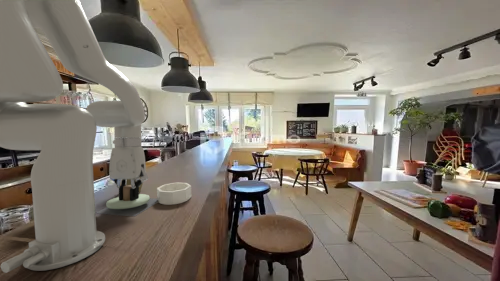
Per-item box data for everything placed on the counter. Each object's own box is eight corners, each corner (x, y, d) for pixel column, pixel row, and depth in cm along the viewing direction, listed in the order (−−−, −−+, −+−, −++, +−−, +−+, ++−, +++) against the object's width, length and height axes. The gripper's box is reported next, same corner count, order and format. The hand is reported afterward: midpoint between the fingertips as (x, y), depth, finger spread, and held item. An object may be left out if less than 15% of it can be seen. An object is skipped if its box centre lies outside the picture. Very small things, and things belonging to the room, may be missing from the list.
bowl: (181, 207, 66) (180, 192, 66) (151, 205, 68) (150, 191, 67) (195, 195, 77) (194, 183, 76) (169, 194, 78) (168, 182, 78)
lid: (132, 210, 58) (131, 191, 57) (96, 208, 59) (96, 190, 59) (157, 197, 69) (156, 182, 69) (126, 196, 71) (126, 181, 71)
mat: (135, 218, 58) (135, 216, 58) (94, 214, 60) (94, 213, 60) (163, 200, 72) (163, 198, 72) (129, 198, 74) (128, 196, 74)
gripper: (95, 143, 62) (96, 201, 62) (143, 144, 59) (143, 204, 59) (115, 143, 69) (116, 194, 69) (158, 143, 66) (158, 196, 67)
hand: (129, 198), depth 64 cm, fingers closed on lid, 3 cm apart
